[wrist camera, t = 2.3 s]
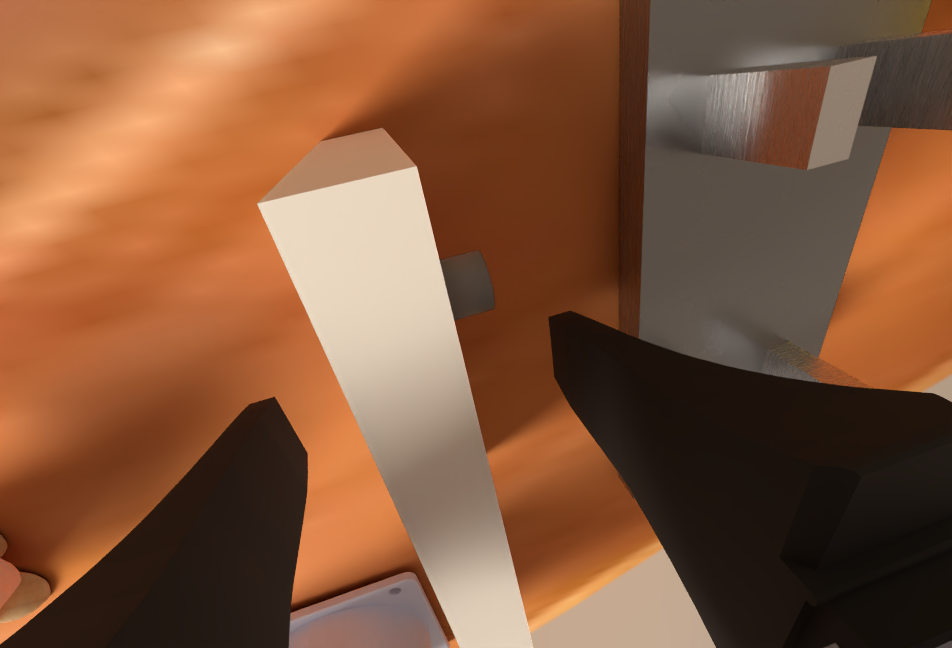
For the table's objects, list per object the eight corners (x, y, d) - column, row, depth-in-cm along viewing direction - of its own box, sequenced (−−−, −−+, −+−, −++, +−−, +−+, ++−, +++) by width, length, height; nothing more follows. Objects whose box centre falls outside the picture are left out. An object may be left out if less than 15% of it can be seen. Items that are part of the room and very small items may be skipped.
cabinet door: (435, 471, 16) (481, 694, 10) (320, 141, 10) (256, 203, 4) (491, 452, 16) (568, 658, 10) (414, 120, 10) (495, 147, 4)
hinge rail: (618, 476, 19) (679, 565, 15) (620, -147, 8) (812, -329, 5) (769, 423, 20) (860, 495, 16) (934, -193, 9) (1286, -374, 6)
